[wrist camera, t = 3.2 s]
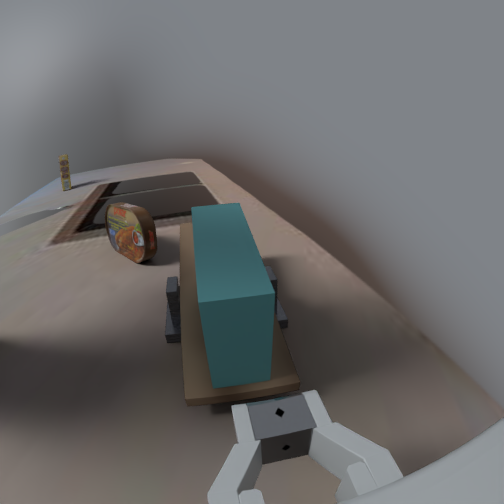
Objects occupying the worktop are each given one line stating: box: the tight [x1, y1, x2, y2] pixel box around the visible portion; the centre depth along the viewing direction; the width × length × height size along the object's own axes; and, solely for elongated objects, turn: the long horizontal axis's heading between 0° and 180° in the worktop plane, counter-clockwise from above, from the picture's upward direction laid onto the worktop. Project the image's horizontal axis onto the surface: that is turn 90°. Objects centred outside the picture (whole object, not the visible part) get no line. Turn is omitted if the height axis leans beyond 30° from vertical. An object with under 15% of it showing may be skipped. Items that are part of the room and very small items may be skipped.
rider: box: [192, 203, 275, 389], centre depth 23 cm, size 4×12×8 cm, turn 11°
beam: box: [178, 223, 300, 406], centre depth 31 cm, size 8×26×2 cm, turn 11°
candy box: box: [59, 154, 71, 191], centre depth 115 cm, size 9×4×15 cm, turn 35°
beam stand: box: [165, 266, 288, 343], centre depth 36 cm, size 12×16×5 cm
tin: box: [105, 203, 157, 263], centre depth 48 cm, size 15×3×8 cm, turn 47°
